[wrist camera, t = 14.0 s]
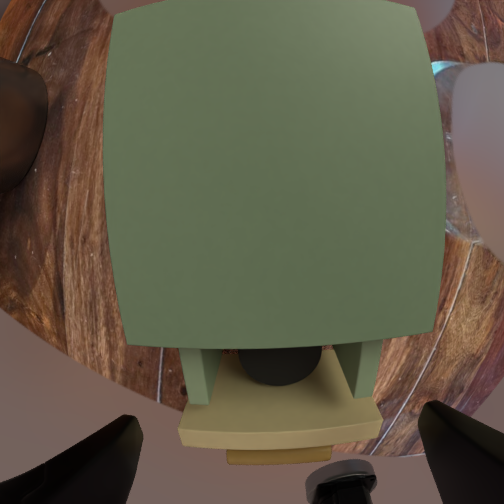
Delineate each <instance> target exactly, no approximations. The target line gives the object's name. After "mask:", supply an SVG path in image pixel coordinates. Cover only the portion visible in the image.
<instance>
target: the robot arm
mask: <svg viewBox="0 0 504 504" xmlns="http://www.w3.org/2000/svg"><path fill="white" fill-rule="evenodd" d="M418 428H419V432H420V435H421V439H422V442H423V446H424V450H425V454H426V457H427V461H428V464H429V466H430V469H431V472H432V474H433V477H434V480H435V482H436V485H437V488H438V491H439V493H440V496H441V499H442V502H443V504H504V434H503V433H501V432H499V431H497V430H495V429H493V428H491V427H489V426H487V425H485V424H483V423H481V422H479V421H477V420H475V419H473V418H471V417H469V416H467V415H465V414H463V413H461V412H459V411H457V410H455V409H453V408H452V407H450V406H448V405H446V404H444V403H442V402H440V401H438V400H433V401H429V402H426V403H425V404H424V406H423V409H422V411H421V414H420V417H419V419H418ZM142 442H143V432H142V430H141V427H140V425H139V422H138V420H137V418H136V417H135V416H132V415H122V416H120V417H118V418H117V419H115V420H114V421H112V422H111V423H109V424H108V425H106V426H105V427H103V428H101V429H100V430H98V431H97V432H95V433H93V434H92V435H90V436H89V437H87V438H85V439H84V440H82V441H80V442H79V443H77V444H75V445H74V446H72V447H70V448H69V449H67V450H65V451H64V452H62V453H60V454H58V455H57V456H55V457H53V458H52V459H50V460H48V461H46V462H45V463H43V464H41V465H39V466H37V467H35V468H33V469H31V470H29V471H27V472H25V473H23V474H21V475H19V476H16V477H14V478H11V479H9V480H6V481H3V482H1V483H0V504H126V501H127V498H128V496H129V493H130V490H131V487H132V484H133V481H134V478H135V474H136V470H137V465H138V461H139V456H140V451H141V447H142ZM376 479H377V477H376V475H369V476H364V477H359V478H353V479H347V480H341V481H334V482H327V483H320V484H318V485H317V486H316V491H315V495H314V499H313V503H312V504H373V503H372V500H371V496H370V491H371V489H372V487H373V485H374V483H375V481H376Z"/></svg>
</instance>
